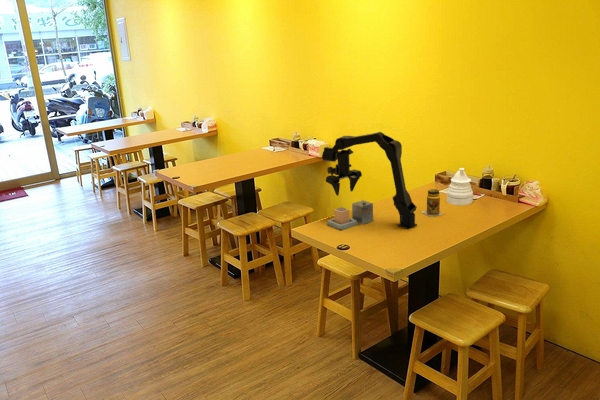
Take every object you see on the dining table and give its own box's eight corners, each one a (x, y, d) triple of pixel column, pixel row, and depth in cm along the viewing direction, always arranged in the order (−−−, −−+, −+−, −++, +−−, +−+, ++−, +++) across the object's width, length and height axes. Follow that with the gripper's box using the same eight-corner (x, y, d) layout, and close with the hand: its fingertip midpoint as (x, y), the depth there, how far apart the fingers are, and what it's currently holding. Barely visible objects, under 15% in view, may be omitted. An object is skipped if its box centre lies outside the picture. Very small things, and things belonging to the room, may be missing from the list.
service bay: (357, 225, 241) (357, 220, 240) (341, 230, 235) (341, 226, 235) (343, 219, 249) (343, 215, 248) (327, 225, 243) (327, 220, 242)
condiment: (431, 217, 245) (431, 193, 242) (420, 212, 253) (421, 189, 249) (443, 214, 248) (444, 190, 244) (432, 209, 255) (433, 186, 252)
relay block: (349, 223, 241) (349, 208, 239) (341, 226, 238) (340, 211, 236) (342, 220, 245) (342, 206, 243) (334, 223, 242) (334, 208, 240)
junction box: (373, 221, 244) (373, 202, 241) (363, 225, 240) (362, 205, 237) (362, 217, 250) (362, 198, 247) (351, 220, 247) (351, 202, 244)
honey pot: (475, 204, 259) (477, 170, 253) (450, 205, 259) (451, 171, 254) (468, 196, 271) (469, 164, 265) (443, 198, 271) (445, 165, 266)
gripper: (346, 156, 256) (347, 186, 261) (317, 163, 245) (319, 194, 250) (362, 159, 247) (362, 190, 252) (332, 167, 237) (334, 199, 242)
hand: (344, 193), depth 249 cm, fingers open, 9 cm apart
